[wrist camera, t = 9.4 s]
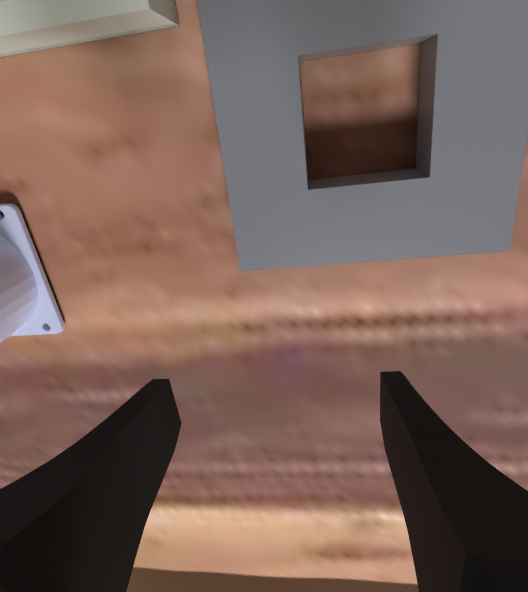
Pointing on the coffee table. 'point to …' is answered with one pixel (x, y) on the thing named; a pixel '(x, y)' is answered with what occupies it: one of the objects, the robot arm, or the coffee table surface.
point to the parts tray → (77, 21)
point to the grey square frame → (381, 185)
